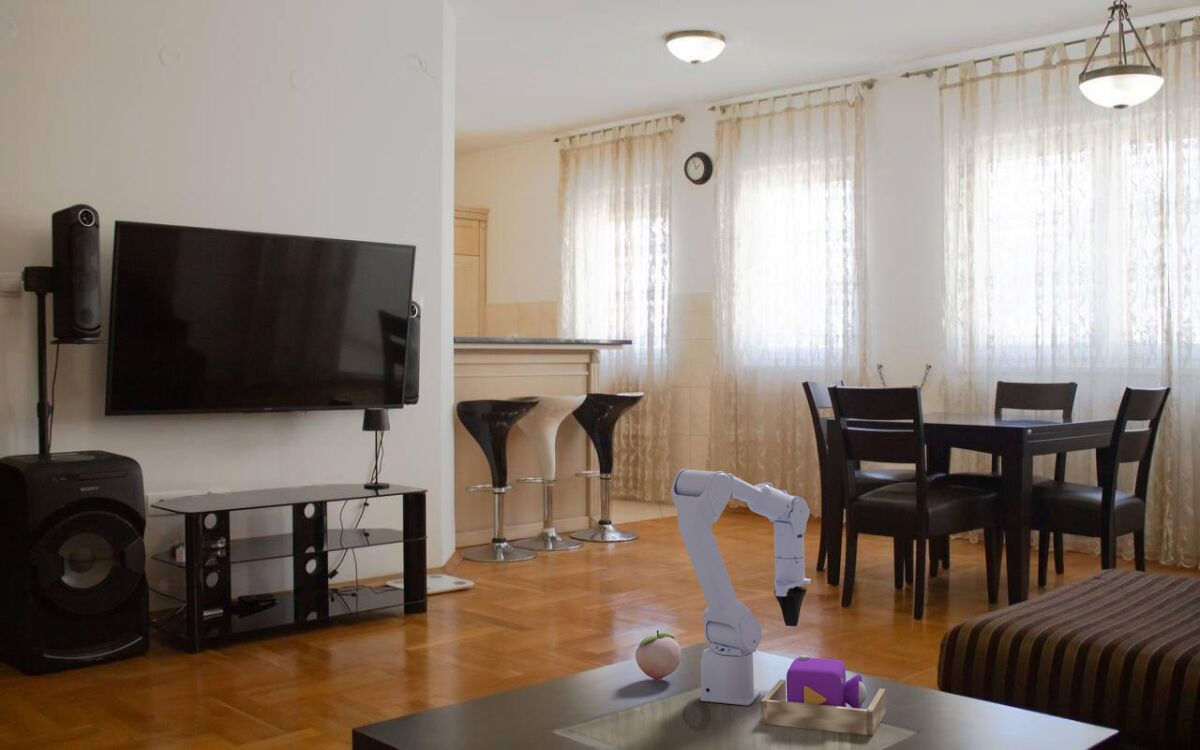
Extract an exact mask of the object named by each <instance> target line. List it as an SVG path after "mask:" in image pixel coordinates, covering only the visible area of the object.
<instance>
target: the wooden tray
mask: <svg viewBox="0 0 1200 750" xmlns="http://www.w3.org/2000/svg"><path fill="white" fill-rule="evenodd" d="M886 692H887V691H886V688H879V689H878V690H877V692H876V694H875V695H874V697H873V698H872V701H871V702H870V704H869V706H868V707H867V708H861V709H859V708H852V707H847V706H846V707H839V706H828V705H818V704H808V703H798V702H788V701H787V684H786V679H779V680H778V681H777V682H776V683H775V685H774V686H772V688H771V689H770V690H769V691H768V693H767V694H766V695H764V697H763V698H762V699H761V700H760V706H761V707H760V709H761V710H760V713H761V724H762V725H772V726H779V727H780V726H782V727H791V728H798V729H799V728H800V729H809V730H818V731H824V732H825V731H826V732H827V731H828V732H835V733H836V732H837V733H846V734H854V735H855V734H856V735H863V736H874V735H875V732H876V731H877V729H878V727H879V725H880V724H881V721H882V720H883V718H884V717H885V714H886V712H887V703H886V702H887V700H886V699H887V698H886V697H887V696H886V694H887V693H886Z"/></svg>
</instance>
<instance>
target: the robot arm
mask: <svg viewBox="0 0 1200 750" xmlns="http://www.w3.org/2000/svg"><path fill="white" fill-rule="evenodd" d="M773 486H774V484H773V483H772V482H766V481H764V482H762V483H758V484H755V485H753V484H752V483H748V482H747V481H744V480H743V479H741V478H739V477H736V476H735V475H734V474H732V473H727V472H725V471H722V470H719V471H711V470H709V471H708V470H699V469H698V470H697V469H691V468H682V469H680V470H679V471H678V472H677V473H676V475H675V476H674V478H673V482H672V486H671V488H670V490H669V491H670V495H671V497H672V498H671V499H672V501H673V503H674V506H675V507H676V515H677V524H678V525H677V526H678V530H679V533H680V536H681V538H682V541H683V544H684V546H685V549H686V551H687V554H688V557H689V559H690V562H691V564H692V568H693V569H694V573H695V575H696V578H697V580H698V583H699V586H700V588H701V590H702V594H703V597H704V599H705V601H706V605H707V607H705V609H704V611H703V613H702V614H701V618H702V621H703V633H704V637H705V639H706V641H707V642H708V643H709V644H710V648H705V649H704V650H703V652H702V656H701V660H700V684H701V685H700V686H701V687H700V689H701V697H700V701H701V702H709V703H710V702H711V703H718V704H719V703H721V704H729V705H740V706H750V705H752V703H754V702H755V700H756V699H757V698H758V697H759V696H760V695H761V694H762V693H761V692H762V691H761V690H759V689H757V690H755V685H754V682H755V681H754V678H755V677H754V653H755V652H756V651H757V648H758V647H759V646H760V643H761V641H762V637H763V636H762V635H763V633H762V632H763V631H762V625H761V623H760V621H758V619H756V618H755V616H754V615H753V612H752V610H751V609H750V607H748V606H747V605H745V604H744V603H743V602H742V601H741V600H739V599H738V597H737V594H736V591H735V589H734V587H733V584H732V581H731V578H730V575H729V573H728V570H727V567H726V564H725V562H724V558H723V556H722V554H721V551H720V548H719V546H718V544H717V541H716V538H715V534H714V532H713V530H712V525H713V524H715V523H717V522H718V520H719V519H720V517H721V515H722V514H723V512H724V510H725V509H726V506H727V505H728V502H729V501H730V499H735V500H740V501H742V502H745V503H746V504H747V508H748V509H749V510H750V511H752V512H753V513H755V514H758V515H760V516H763V517H765V518H767V519H768V521H769V522H770V523H771V524H773V537H774V540H773V543H774V573H775V574H774V575H775V576H774V577H775V578H774V579H773V581H774V585H775V587H774V590H773V594H774V597H775V598H776V600H777V602H778V604H779V606H780V609H781V613H782V618H783V621H784V625H785V627H797V626H798V624H799V620H800V615H801V607H802V604H803V601H804V598H805V596H806V594H807V591H808V588H807V587H806V586H803V585H810V584H811V583H812V579H811V578H806V571H805V568H806V567H805V541H804V540H805V538H804V537H805V536H804V534H805V533H806V531H807V522H808V520H809V518H810V510H811V509H810V508H809V505H808V502H807V501H806V500H805V499H804V498H803V497H801V496H798V495H790V494H789V493H788V491H787V490H785V489H777V488H775V487H773Z"/></svg>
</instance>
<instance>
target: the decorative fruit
mask: <svg viewBox="0 0 1200 750" xmlns="http://www.w3.org/2000/svg"><path fill="white" fill-rule="evenodd" d="M659 632H660V631H659V629H658V630H656V635H654V636H653V635H652V636H646V637H644V638H643V639H642V640H641V642H640V643H639V645H638V646H637V648H636V651H635V654H634V655H635V661H636V664H637V665H638V667H639V669H640V670H641V671H642V672H643V673H644V675H646V676H648V677H649V678H651V679H653V680H655V681H657V680H659V679H663V678H667V676H669V675H671V674H672V673H674V672H675V671H676V670H677V669H678V667H679V666H680V663H681V659H682V650H681V647H680V645H679V643H678V642H677V641H676V640H674V639H675V636H673V634H671V633H665V632H662V633H659Z"/></svg>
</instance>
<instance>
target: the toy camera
mask: <svg viewBox="0 0 1200 750" xmlns="http://www.w3.org/2000/svg"><path fill="white" fill-rule="evenodd" d="M846 672H847V671H846V666H845V663H844V662H843V660H842V661H841V660H839V659H834V658H816V657H810V656H809V654H800V655H799V656H798V657H797V658H795V659H793V661H792V663H791V665H790V666H789V668H788V670H787V672H786V679H785V680H786V701H788V702H798V703H808V704H818V705H828V706H839V707H847V705H848V706H850V708H859V709H863V708H862V707H863V703H864V702H865V701H866V699H867V689H866V686H865V684H864V683H863V680H862V679H863V678H862V675H861V673H859V674H856V675H854V676H853V677H851V678H850V679H849V680H847V676H846V675H847V674H846Z"/></svg>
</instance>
